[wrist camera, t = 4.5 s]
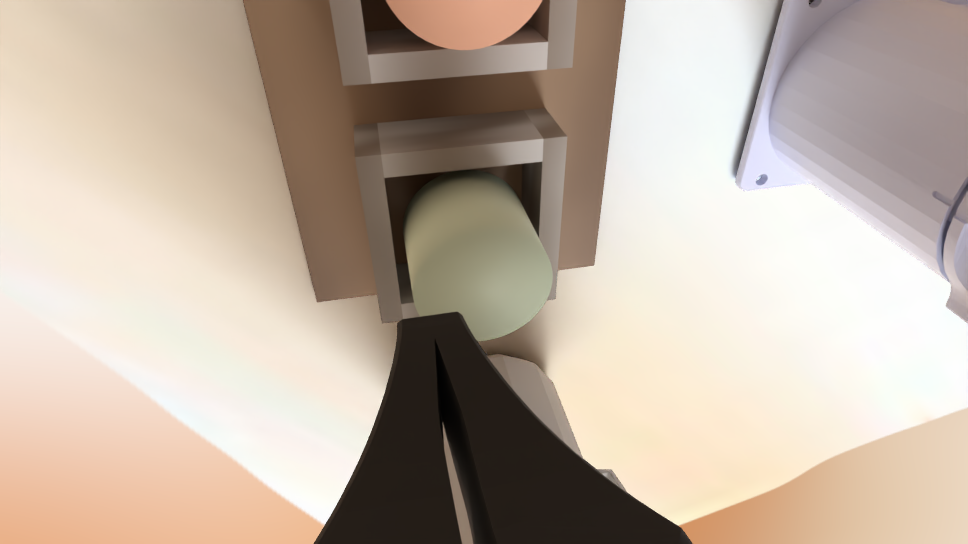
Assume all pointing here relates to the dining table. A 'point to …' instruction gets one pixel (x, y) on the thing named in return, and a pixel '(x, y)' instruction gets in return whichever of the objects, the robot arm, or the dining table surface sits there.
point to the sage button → (475, 253)
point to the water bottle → (545, 406)
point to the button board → (433, 129)
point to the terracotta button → (464, 20)
